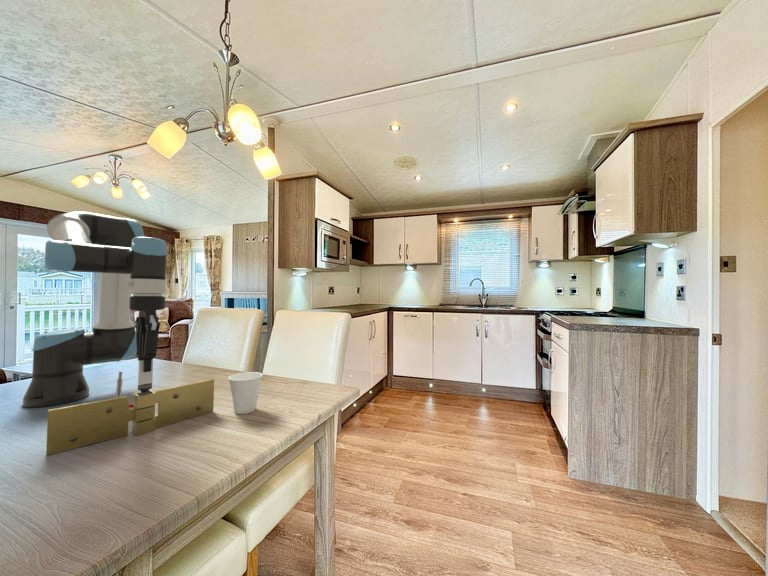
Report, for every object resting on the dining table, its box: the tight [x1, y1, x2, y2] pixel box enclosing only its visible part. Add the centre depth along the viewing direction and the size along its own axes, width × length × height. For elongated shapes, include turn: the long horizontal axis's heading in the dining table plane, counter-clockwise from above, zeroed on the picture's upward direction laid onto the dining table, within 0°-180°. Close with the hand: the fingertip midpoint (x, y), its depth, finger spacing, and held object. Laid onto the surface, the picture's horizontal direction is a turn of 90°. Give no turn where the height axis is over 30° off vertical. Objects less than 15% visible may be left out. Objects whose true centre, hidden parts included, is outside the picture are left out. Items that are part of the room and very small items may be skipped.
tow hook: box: [115, 371, 134, 409], centre depth 93 cm, size 8×13×9 cm
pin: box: [137, 382, 153, 422], centre depth 80 cm, size 3×3×11 cm
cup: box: [228, 371, 264, 415], centre depth 94 cm, size 10×10×11 cm
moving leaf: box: [45, 395, 156, 456], centre depth 74 cm, size 4×19×10 cm, turn 136°
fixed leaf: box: [131, 378, 215, 437], centre depth 85 cm, size 4×19×10 cm, turn 142°
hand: (145, 383), depth 80 cm, fingers closed
